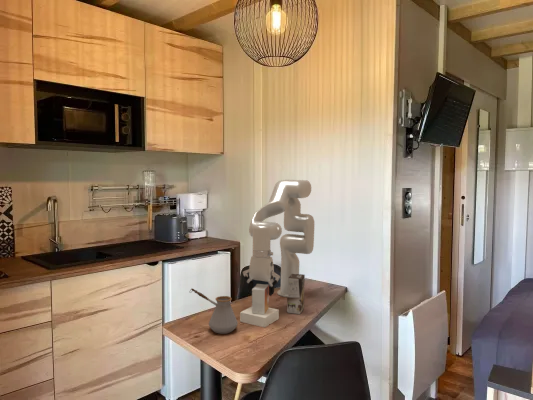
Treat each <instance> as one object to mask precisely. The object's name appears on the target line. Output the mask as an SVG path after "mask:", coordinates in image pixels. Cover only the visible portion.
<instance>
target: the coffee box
mask: <svg viewBox="0 0 533 400" xmlns="http://www.w3.org/2000/svg"><path fill="white" fill-rule="evenodd" d="M305 276H306V275H305V274H301V273H299V274H291V275H290V277H289V278H288V297H287V304H286V305H287V306H286V307H287V308H286V313H288V314H295V315H301V313H302V312H303V310H304V308H305V307H304V306H305V281H306V280H305Z"/></svg>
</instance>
